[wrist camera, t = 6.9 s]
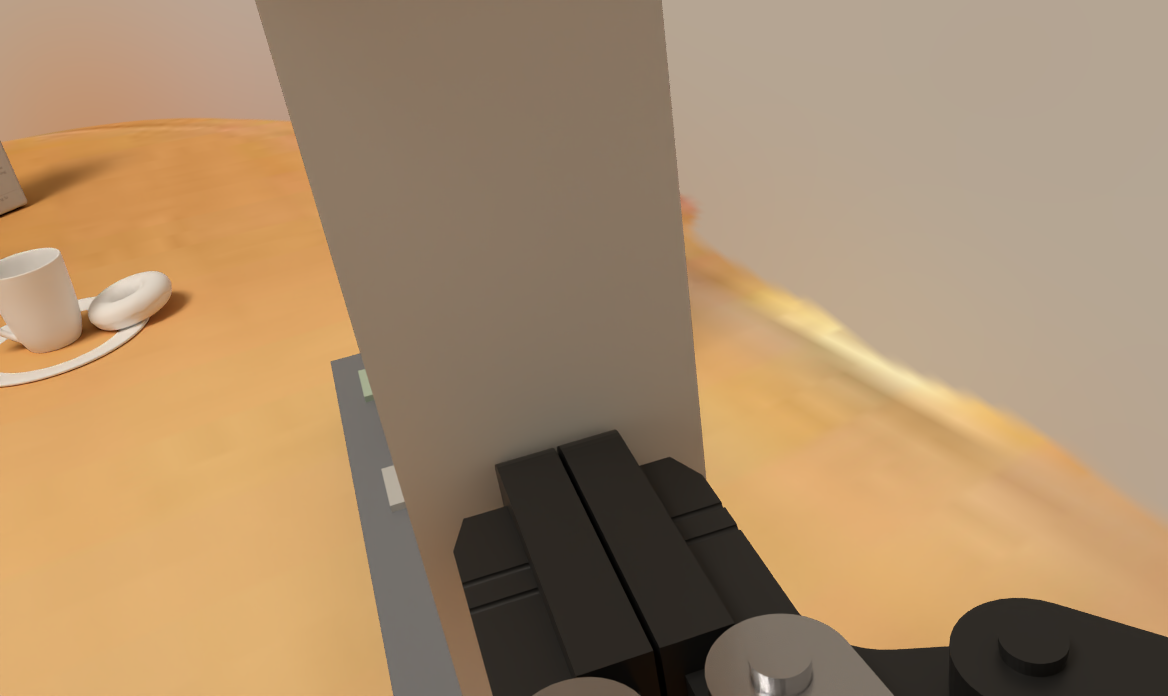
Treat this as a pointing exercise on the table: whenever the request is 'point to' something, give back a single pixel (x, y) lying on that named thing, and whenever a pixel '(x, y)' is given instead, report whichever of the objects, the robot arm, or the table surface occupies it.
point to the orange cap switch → (497, 239)
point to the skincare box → (9, 186)
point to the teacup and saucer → (69, 309)
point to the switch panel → (392, 547)
